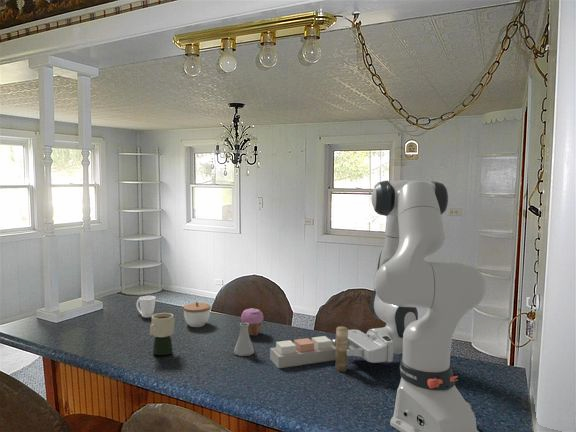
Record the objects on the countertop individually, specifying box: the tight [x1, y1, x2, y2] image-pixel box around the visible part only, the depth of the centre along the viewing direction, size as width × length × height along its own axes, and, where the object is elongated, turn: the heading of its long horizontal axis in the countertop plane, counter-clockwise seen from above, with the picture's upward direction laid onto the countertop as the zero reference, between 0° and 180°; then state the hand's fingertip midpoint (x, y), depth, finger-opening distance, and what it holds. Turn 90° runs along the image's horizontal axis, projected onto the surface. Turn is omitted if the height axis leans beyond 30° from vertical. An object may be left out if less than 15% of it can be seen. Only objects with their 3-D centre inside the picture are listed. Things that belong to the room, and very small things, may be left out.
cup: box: [135, 295, 157, 318], centre depth 188 cm, size 7×10×8 cm
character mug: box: [149, 312, 176, 356], centre depth 145 cm, size 11×7×13 cm, turn 152°
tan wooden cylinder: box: [335, 326, 349, 372], centre depth 135 cm, size 4×4×13 cm
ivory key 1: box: [275, 339, 296, 355], centre depth 140 cm, size 5×5×3 cm
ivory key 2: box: [311, 335, 332, 350], centre depth 145 cm, size 5×5×3 cm
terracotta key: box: [293, 337, 314, 353], centre depth 142 cm, size 5×5×3 cm
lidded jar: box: [183, 301, 211, 328], centre depth 176 cm, size 11×11×9 cm
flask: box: [233, 322, 255, 357], centre depth 147 cm, size 7×7×10 cm
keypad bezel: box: [269, 345, 336, 369], centre depth 142 cm, size 8×21×4 cm, turn 111°
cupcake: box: [240, 307, 264, 337], centre depth 166 cm, size 9×9×10 cm
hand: (339, 347), depth 134 cm, fingers open, 7 cm apart
